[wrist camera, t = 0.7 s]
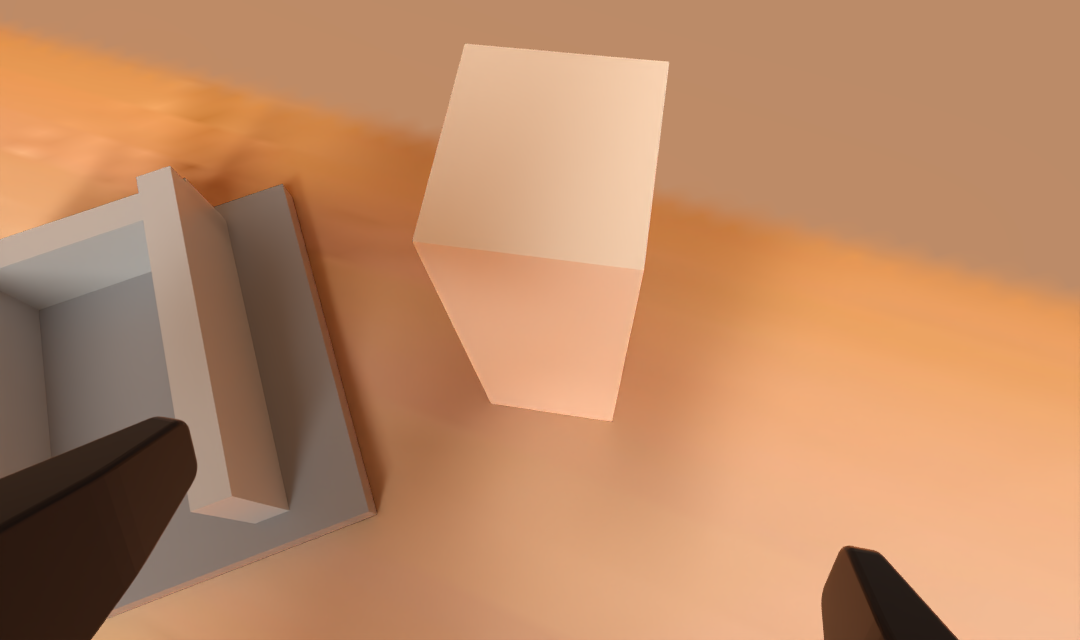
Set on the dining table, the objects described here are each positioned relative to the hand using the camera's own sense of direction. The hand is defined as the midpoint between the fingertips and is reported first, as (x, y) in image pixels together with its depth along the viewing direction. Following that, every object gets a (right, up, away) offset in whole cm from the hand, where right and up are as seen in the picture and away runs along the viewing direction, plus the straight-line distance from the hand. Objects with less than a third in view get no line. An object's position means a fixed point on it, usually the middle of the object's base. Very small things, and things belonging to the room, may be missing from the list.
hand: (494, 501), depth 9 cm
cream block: (+1, +1, +16) cm, 16 cm away
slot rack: (-14, -1, +16) cm, 21 cm away
